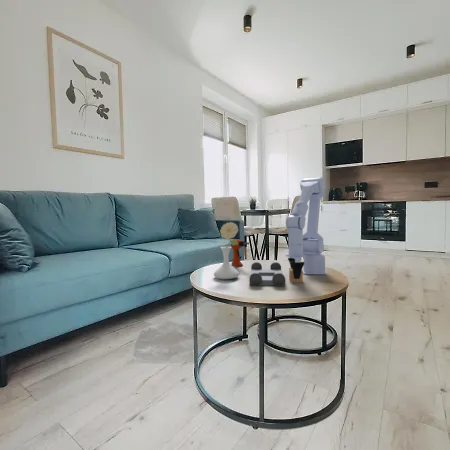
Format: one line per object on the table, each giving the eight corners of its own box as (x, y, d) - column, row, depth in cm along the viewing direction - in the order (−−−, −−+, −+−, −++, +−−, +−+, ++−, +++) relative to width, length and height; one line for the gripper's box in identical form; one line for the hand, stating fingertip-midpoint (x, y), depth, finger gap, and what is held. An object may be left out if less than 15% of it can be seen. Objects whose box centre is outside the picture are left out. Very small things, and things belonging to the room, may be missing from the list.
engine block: (301, 279, 117) (301, 268, 117) (302, 282, 113) (302, 270, 113) (289, 279, 118) (289, 268, 118) (290, 282, 114) (290, 270, 113)
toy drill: (246, 268, 135) (243, 237, 136) (230, 266, 152) (228, 239, 153) (254, 267, 137) (252, 237, 138) (238, 265, 154) (235, 238, 155)
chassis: (281, 272, 131) (280, 262, 131) (285, 286, 107) (285, 273, 107) (251, 272, 133) (251, 262, 132) (249, 286, 109) (249, 273, 109)
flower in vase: (208, 278, 122) (206, 222, 121) (225, 273, 131) (224, 221, 129) (230, 283, 114) (229, 222, 112) (247, 278, 122) (246, 221, 121)
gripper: (284, 242, 122) (284, 272, 123) (287, 246, 108) (287, 280, 109) (300, 241, 121) (300, 272, 122) (305, 246, 107) (306, 280, 108)
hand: (295, 276), depth 115 cm, fingers open, 7 cm apart
